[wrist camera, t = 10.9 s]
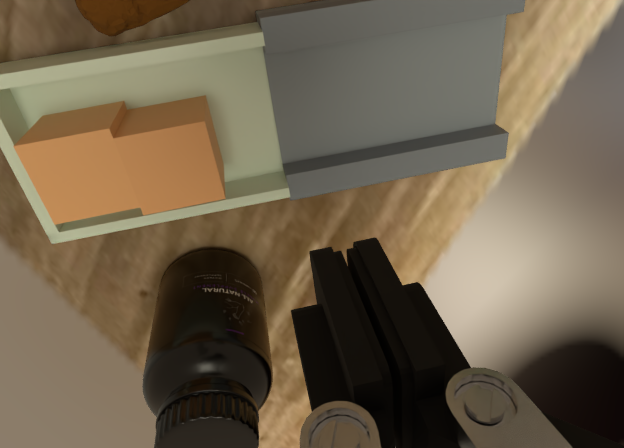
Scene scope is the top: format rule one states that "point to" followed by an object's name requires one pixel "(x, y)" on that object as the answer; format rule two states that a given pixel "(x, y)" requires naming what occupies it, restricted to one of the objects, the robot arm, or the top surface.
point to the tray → (149, 91)
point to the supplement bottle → (208, 353)
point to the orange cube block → (78, 163)
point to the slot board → (384, 88)
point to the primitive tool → (124, 13)
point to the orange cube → (171, 155)
